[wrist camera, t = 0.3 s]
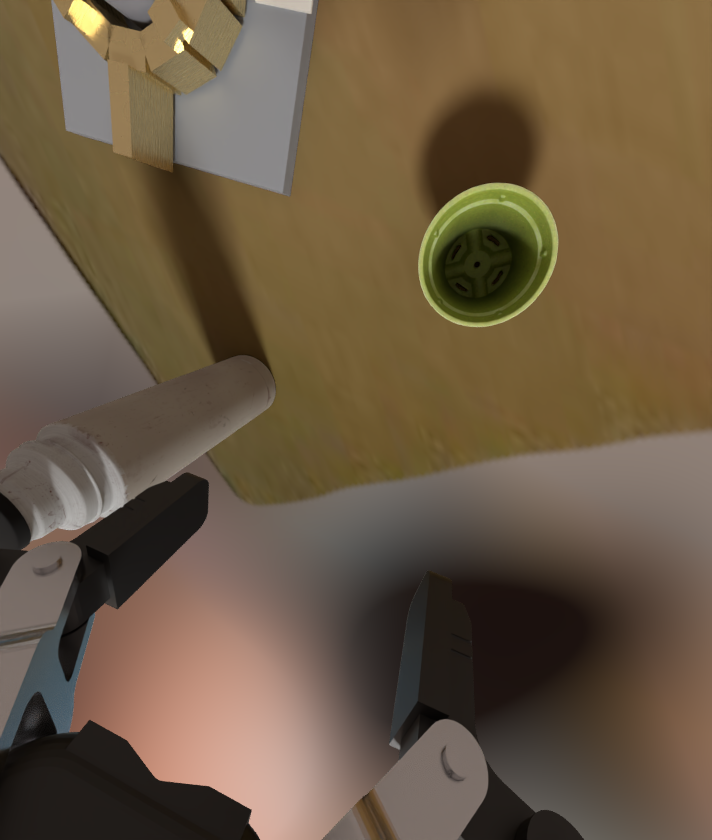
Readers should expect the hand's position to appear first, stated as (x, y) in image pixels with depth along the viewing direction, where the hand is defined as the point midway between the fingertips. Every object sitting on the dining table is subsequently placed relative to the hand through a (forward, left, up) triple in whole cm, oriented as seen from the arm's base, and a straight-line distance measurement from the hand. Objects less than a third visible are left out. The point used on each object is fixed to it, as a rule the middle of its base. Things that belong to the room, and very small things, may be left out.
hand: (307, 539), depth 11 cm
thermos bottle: (+11, -19, -29) cm, 36 cm away
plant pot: (-10, +3, -29) cm, 31 cm away
